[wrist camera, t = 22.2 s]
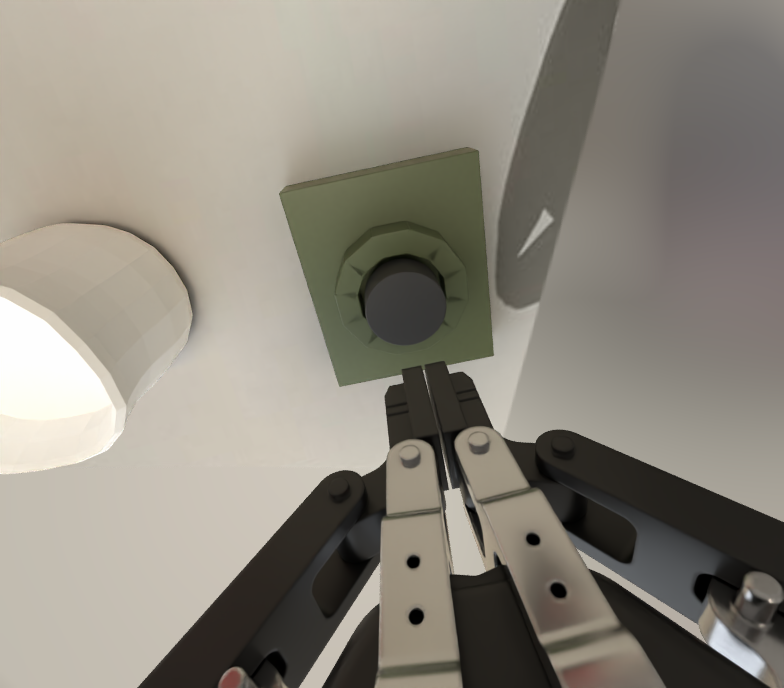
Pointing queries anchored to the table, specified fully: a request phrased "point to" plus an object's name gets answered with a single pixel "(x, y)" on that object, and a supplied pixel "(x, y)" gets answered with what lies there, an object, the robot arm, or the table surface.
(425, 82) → the table surface
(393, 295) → the stop button
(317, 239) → the box
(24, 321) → the cup
